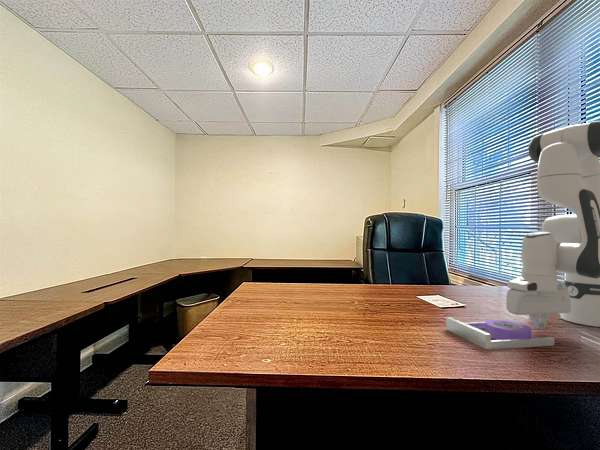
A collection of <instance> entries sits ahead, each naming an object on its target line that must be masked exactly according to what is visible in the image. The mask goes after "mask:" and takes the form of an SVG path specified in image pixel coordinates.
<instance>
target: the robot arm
mask: <svg viewBox="0 0 600 450" xmlns="http://www.w3.org/2000/svg"><path fill="white" fill-rule="evenodd" d="M528 155H529V157H530V159H531V160H532V161H533V162H535V163H536V164H537V172H536V173H537V174H536V188H537V192H538V195H539V197H540V198H541V199H543V200H544V201H545V202H547V203H549V204H552V205H555V206H558V207H562V208H565V209H568V210H570V211H571V212H573V213H574V214H572V213H571V214H558V215H554V216H549V217H547V218H546V219H545V220H544V221H543V222H542V224H541V227H540V229H541V231H537V232H536V231H534V232H529V233H527V234H525V235H523V236H524V237H523V239H522V244H521V253H520V254H521V258H520V259H521V262H522V269H521V275H520V276H518V277H516V278H513V279H510V280H509V281H507V284H506V285H507V288H508V290H507V293H506V303H505V304H506V309H507V312H508V313H510V314H513V315H516V316H527V315H528V316H529V318H530V320H531V321H532V327H533V328H534V329H546V328H547V322H548V321H549V318H550V315H551V314H552V315H554V314H558V315H559V316H560V319H562V320H563V321H566V322H570V323H575V324H579V325H584V326H590V327H598V328H600V120H594V121H591V122H587V123H580V124H573V125H568V126H565V127H563V128H562V127H561V128H559V129H555V130H551V131H548V132H543V133H540V134H538V135H535V136H534V137H533V138H532V139H531V140H530V141H529V143H528ZM558 273H562V274H565V280H564V281H563V282H564V283H563V282H558Z"/></svg>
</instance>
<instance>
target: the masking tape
mask: <svg viewBox="0 0 600 450" xmlns="http://www.w3.org/2000/svg"><path fill="white" fill-rule="evenodd" d="M484 322H485V327H486V329H485V332H486V333H489V334H491V339H493V340H508V339H526V338H533V336H532V327H531V326H529V325H527V324H524V323H521V322H516V321H511V320H504V319H488V320H486V321H484Z"/></svg>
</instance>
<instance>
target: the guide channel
mask: <svg viewBox="0 0 600 450" xmlns="http://www.w3.org/2000/svg"><path fill="white" fill-rule="evenodd" d="M445 320H446V321H445V324H446V325H445V329H446V331H448V332H450V333H452V334H454V335H457V336H458V337H460V338H462V339H464V340H466V341H468V342H471V343H472V344H473V345H474V344H475V345H477V346H479V347H480V348H482V349H484V350H501V349H516V348H517V349H519V348H533V347H550V346H552V347H553V346H555V343H556V342H555V338H554V337H552V336H545V337H532V338H526V339H508V340H497V339H493V340H492V338H491V334H489V333H486V331H484V330H486V327H485V322H486V321H479V322H478V321H473V322H463V321H461V320H458V319H455V318H453V317H450V316H449V317H448V316H446V319H445Z"/></svg>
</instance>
